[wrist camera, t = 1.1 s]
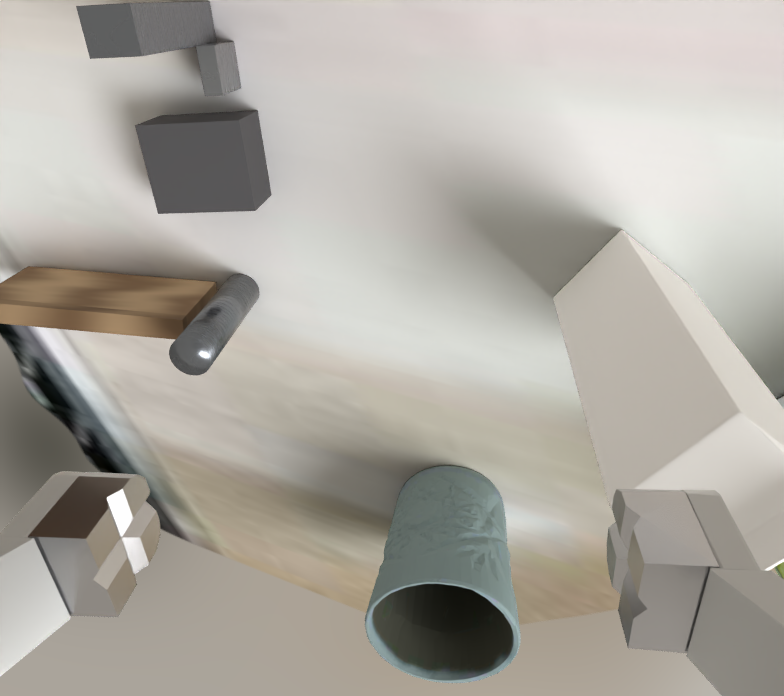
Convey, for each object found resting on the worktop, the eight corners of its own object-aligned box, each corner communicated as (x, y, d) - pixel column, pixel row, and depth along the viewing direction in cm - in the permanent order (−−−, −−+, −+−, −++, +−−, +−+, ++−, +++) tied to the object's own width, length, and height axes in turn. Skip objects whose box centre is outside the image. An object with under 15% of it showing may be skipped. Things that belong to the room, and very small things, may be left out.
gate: (215, 282, 41) (182, 319, 36) (218, 300, 42) (185, 340, 37) (28, 266, 42) (-29, 301, 37) (33, 284, 43) (-22, 321, 38)
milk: (551, 297, 40) (620, 573, 21) (622, 226, 37) (777, 471, 18) (619, 349, 41) (743, 654, 22) (693, 284, 38) (908, 571, 19)
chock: (162, 114, 37) (135, 125, 34) (258, 109, 36) (239, 120, 33) (182, 196, 39) (158, 213, 36) (272, 193, 38) (255, 210, 35)
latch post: (167, 3, 33) (76, 6, 26) (227, 0, 33) (152, 1, 25) (185, 90, 36) (105, 116, 28) (241, 88, 35) (176, 114, 27)
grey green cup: (483, 560, 52) (486, 699, 42) (371, 526, 52) (346, 658, 41) (530, 478, 47) (547, 612, 37) (407, 439, 47) (389, 565, 36)
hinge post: (222, 274, 41) (164, 338, 34) (256, 273, 41) (206, 338, 33) (228, 305, 42) (174, 374, 35) (261, 306, 42) (214, 375, 34)
